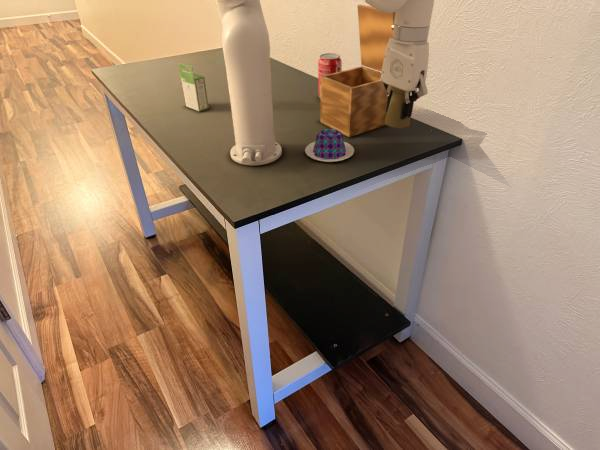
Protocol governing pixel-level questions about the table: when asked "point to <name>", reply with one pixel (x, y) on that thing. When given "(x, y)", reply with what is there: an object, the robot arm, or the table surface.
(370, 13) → the bin lid
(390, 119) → the olive tapered piece
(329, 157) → the pudding
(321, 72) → the soda can
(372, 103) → the wooden bin
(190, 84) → the ink box
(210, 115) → the table surface
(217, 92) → the table surface
